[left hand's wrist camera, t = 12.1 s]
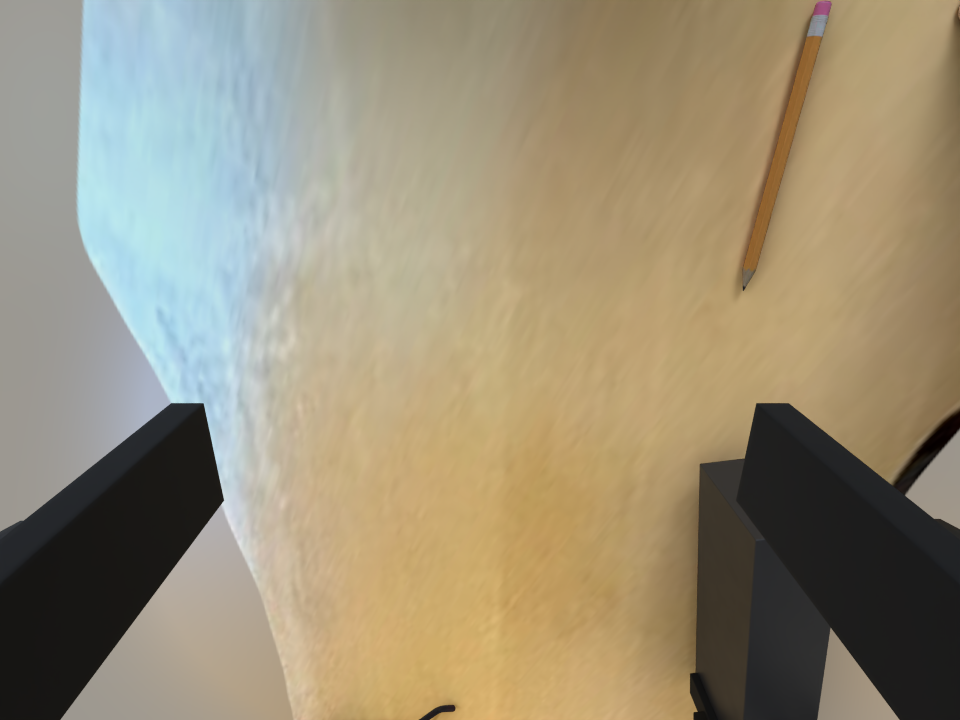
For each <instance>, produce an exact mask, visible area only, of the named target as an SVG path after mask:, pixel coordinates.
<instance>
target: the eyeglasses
mask: <svg viewBox="0 0 960 720" xmlns="http://www.w3.org/2000/svg"><path fill="white" fill-rule="evenodd" d="M453 711H455V706H454V705H444V706H439V707H437V708H435V709H434V710H432V711H431V712H429V713H428V714H426V715H425V716H424V717H422V718H421V719H419V720H430V719H431V718H433V717H434V716H436V715H437V714H439V713H441V712H453Z"/></svg>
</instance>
